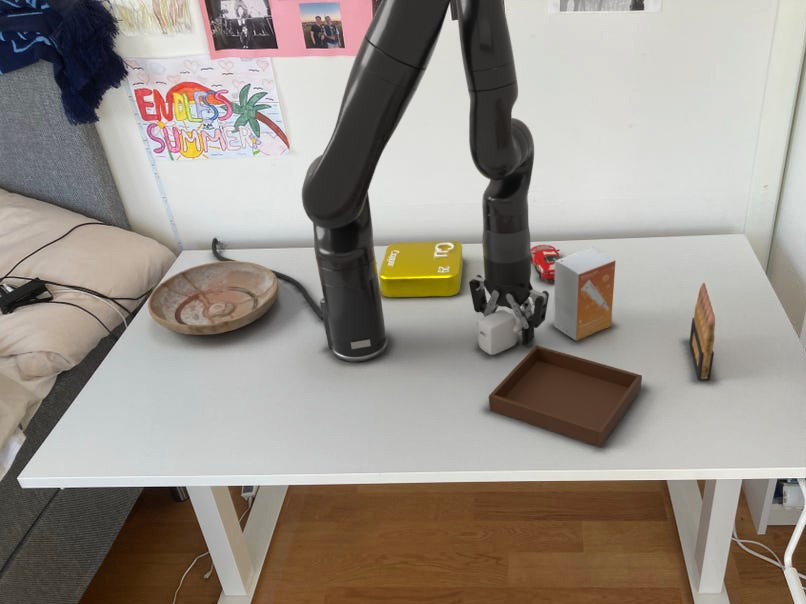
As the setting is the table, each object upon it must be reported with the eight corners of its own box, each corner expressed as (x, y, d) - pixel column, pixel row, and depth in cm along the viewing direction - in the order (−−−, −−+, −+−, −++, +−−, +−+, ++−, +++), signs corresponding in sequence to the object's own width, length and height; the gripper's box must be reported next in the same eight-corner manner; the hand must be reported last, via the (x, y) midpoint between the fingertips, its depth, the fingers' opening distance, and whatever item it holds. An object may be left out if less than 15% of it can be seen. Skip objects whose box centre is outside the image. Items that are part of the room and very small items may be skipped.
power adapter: (525, 323, 138) (525, 294, 134) (543, 335, 134) (544, 305, 131) (475, 347, 132) (473, 317, 129) (493, 359, 129) (491, 329, 126)
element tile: (390, 261, 160) (387, 239, 157) (463, 259, 159) (462, 237, 156) (380, 298, 147) (377, 276, 145) (459, 296, 146) (457, 274, 144)
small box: (576, 342, 132) (578, 274, 125) (553, 326, 136) (553, 259, 129) (612, 326, 136) (616, 259, 128) (588, 311, 140) (591, 245, 133)
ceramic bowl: (137, 352, 136) (128, 328, 133) (175, 286, 155) (168, 263, 152) (270, 344, 136) (264, 320, 133) (292, 279, 155) (287, 256, 152)
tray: (489, 410, 118) (488, 395, 117) (536, 359, 129) (536, 344, 127) (600, 447, 110) (601, 432, 108) (640, 389, 120) (642, 375, 119)
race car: (527, 255, 159) (527, 237, 157) (553, 252, 159) (553, 234, 157) (541, 286, 148) (541, 267, 146) (569, 283, 149) (569, 264, 146)
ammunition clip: (688, 342, 130) (697, 279, 124) (700, 342, 130) (709, 279, 123) (697, 380, 122) (707, 315, 115) (710, 381, 121) (720, 315, 115)
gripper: (558, 249, 123) (557, 338, 132) (479, 232, 129) (484, 318, 139) (536, 269, 118) (537, 361, 127) (455, 251, 124) (462, 339, 134)
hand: (510, 338), depth 133 cm, fingers closed on power adapter, 6 cm apart
